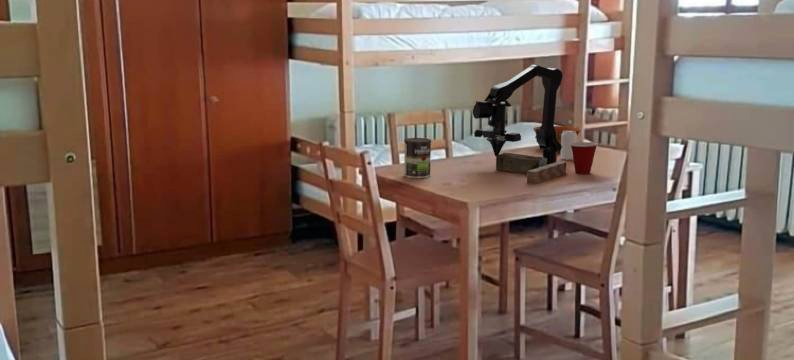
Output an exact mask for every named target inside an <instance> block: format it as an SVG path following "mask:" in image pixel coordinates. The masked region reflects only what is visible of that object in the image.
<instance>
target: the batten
mask: <svg viewBox="0 0 794 360" xmlns="http://www.w3.org/2000/svg"><path fill="white" fill-rule="evenodd" d="M564 174H567V161H564V160H563V161H562V160H559V161H558V160H557V162H555V163H552V164H549V165H545V166H542V167H539V168H536V169H533V170H529V171H527V174H526V184H530V185H535V184H538V183H542V182H545V181H547V180H549V179H553V178H556V177H558V176H562V175H564Z"/></svg>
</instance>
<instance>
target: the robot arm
mask: <svg viewBox="0 0 794 360" xmlns="http://www.w3.org/2000/svg"><path fill="white" fill-rule="evenodd" d="M563 76H564V75H563V72H562V70H561V69H559V68H554V67H543V66H541V65H539V64H530V66H529V67H527V68H526V69H524V70H522V71H521V72H520V73H518V74H517V75H515V76H514V77H512V78H510V79H509V80H507V81H505V82H501V83H498V84H495V85H493V86H492V87H491V88H490V91H489V93H488V95H487V96H486V98H485V99H484V101H480V100H477V101H475V104H474V105H473V108H472V115H473V118H474V119H477V120H478V119H481V120H482V119H489V121H488V125H486V126H484V127H483V128H478V129H475V131H474V133H473V134H474V137H475V138H481V137H482V138H484V139H485V140H486V141H487V142H489V143H490V145H491V147H492V151H493V153H494V157H496V156H497V155H500V154H501V150H502V148H503V147H504V145H505V144H506V142H511V143H512V142H513V143H515V142H520V141H521V140H522V135H521V134H520V133H519V132H509V133H507V130H506V124H508V119H506V116H507V114H506V113H507V108H509V107H511V106H512V105H511V104H510V102H509V101H508V99H510V97H512V96H513V93H514V92H515V91H516V90H518V89H519V88H520V87H522V86H523V85H525V84H526V83H528V82H530V81H531V80H532V79H534V78H536V77H539V78H541V83H542V85H543V89H544V93H543V95H544V97H543V104H542V105H543V107H542V118H541V125H540V126H539V127H540V128H539V129H536V133H535V137H534V138H535V139H536V140H535V141H536V143H537V144H539V145H538V147H539V149H541V150H542V157H544V158H547V165H549V164H552V163H555V162H558V159H557V158H558V152H561V148H562V146H561V144H560V143H559V142H558V141H557V134H556V130H555V128H554V126H555V114H556V107H557V106H556V104H557V96H558V95H557V92H558V91H559V88H560V86H561V84H562V81H563Z"/></svg>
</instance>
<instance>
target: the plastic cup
mask: <svg viewBox="0 0 794 360" xmlns="http://www.w3.org/2000/svg"><path fill="white" fill-rule="evenodd" d="M598 145H599V144H598V142H591V141H588V142H587V141H583V142H581V141H580V142H577V143H571V144H570V146H571V148H572V152H573V160H572V161H573V165H574V166H573V167H574V172H575V174H577V175H590V174H591V171H592V167H593V164H594V158H595V155H596V149H597V146H598Z"/></svg>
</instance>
